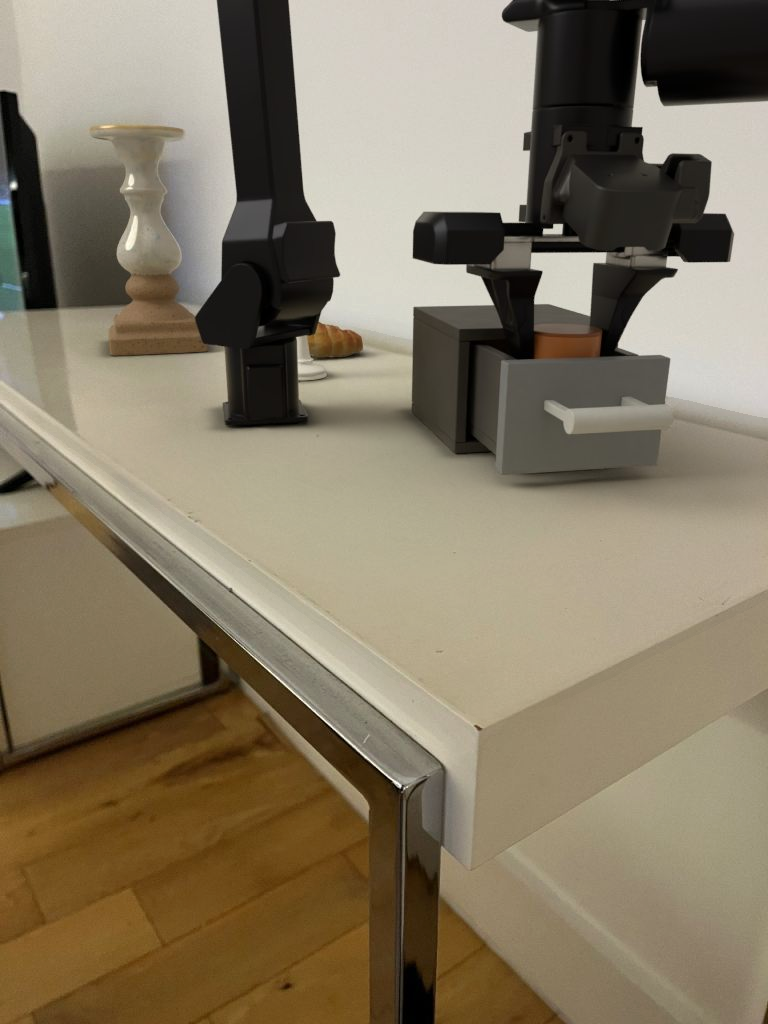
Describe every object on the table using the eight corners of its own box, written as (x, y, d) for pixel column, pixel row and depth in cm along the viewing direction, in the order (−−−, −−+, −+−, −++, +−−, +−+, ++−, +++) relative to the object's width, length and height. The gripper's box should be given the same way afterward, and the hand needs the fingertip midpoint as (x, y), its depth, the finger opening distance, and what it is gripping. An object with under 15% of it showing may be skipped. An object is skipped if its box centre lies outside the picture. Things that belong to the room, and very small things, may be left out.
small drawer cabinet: (607, 445, 60) (620, 324, 56) (454, 453, 57) (459, 329, 54) (541, 405, 71) (548, 303, 68) (411, 411, 69) (413, 306, 66)
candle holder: (110, 341, 102) (86, 130, 94) (199, 337, 105) (184, 133, 97) (110, 356, 92) (83, 122, 84) (208, 351, 96) (193, 125, 87)
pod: (513, 388, 55) (517, 324, 53) (577, 385, 56) (583, 322, 54) (539, 403, 51) (544, 335, 49) (608, 400, 52) (615, 333, 50)
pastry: (358, 348, 98) (357, 316, 97) (367, 359, 92) (367, 324, 90) (279, 350, 96) (278, 317, 95) (283, 361, 90) (282, 326, 89)
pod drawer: (698, 489, 48) (716, 372, 45) (530, 501, 46) (538, 379, 43) (579, 420, 62) (588, 330, 60) (448, 427, 60) (451, 334, 58)
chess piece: (333, 378, 81) (331, 274, 78) (285, 382, 80) (281, 275, 76) (318, 369, 86) (316, 270, 82) (272, 372, 84) (268, 271, 80)
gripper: (470, 88, 38) (457, 415, 44) (819, 100, 42) (767, 400, 47) (412, 111, 48) (408, 374, 54) (697, 120, 52) (666, 365, 58)
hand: (560, 378), depth 53 cm, fingers closed on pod, 4 cm apart
